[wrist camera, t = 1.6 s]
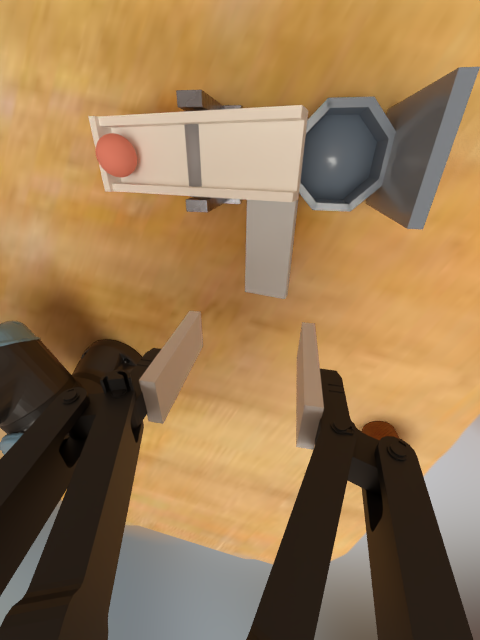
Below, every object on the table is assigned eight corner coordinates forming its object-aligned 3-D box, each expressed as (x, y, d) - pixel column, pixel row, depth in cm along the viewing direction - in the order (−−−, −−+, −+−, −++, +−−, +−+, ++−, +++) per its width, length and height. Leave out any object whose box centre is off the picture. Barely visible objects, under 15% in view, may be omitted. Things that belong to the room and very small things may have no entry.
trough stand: (201, 201, 40) (171, 213, 30) (196, 107, 34) (157, 86, 25) (241, 202, 39) (223, 215, 29) (242, 106, 33) (220, 84, 24)
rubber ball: (124, 176, 32) (93, 177, 29) (116, 135, 30) (82, 132, 27) (147, 177, 30) (117, 178, 27) (141, 134, 28) (107, 130, 25)
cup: (288, 203, 37) (282, 226, 24) (297, 107, 32) (296, 67, 19) (374, 206, 36) (421, 233, 22) (399, 105, 30) (482, 60, 17)
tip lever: (142, 267, 39) (124, 276, 36) (114, 118, 30) (87, 113, 27) (288, 293, 32) (280, 306, 29) (309, 108, 23) (301, 100, 20)
